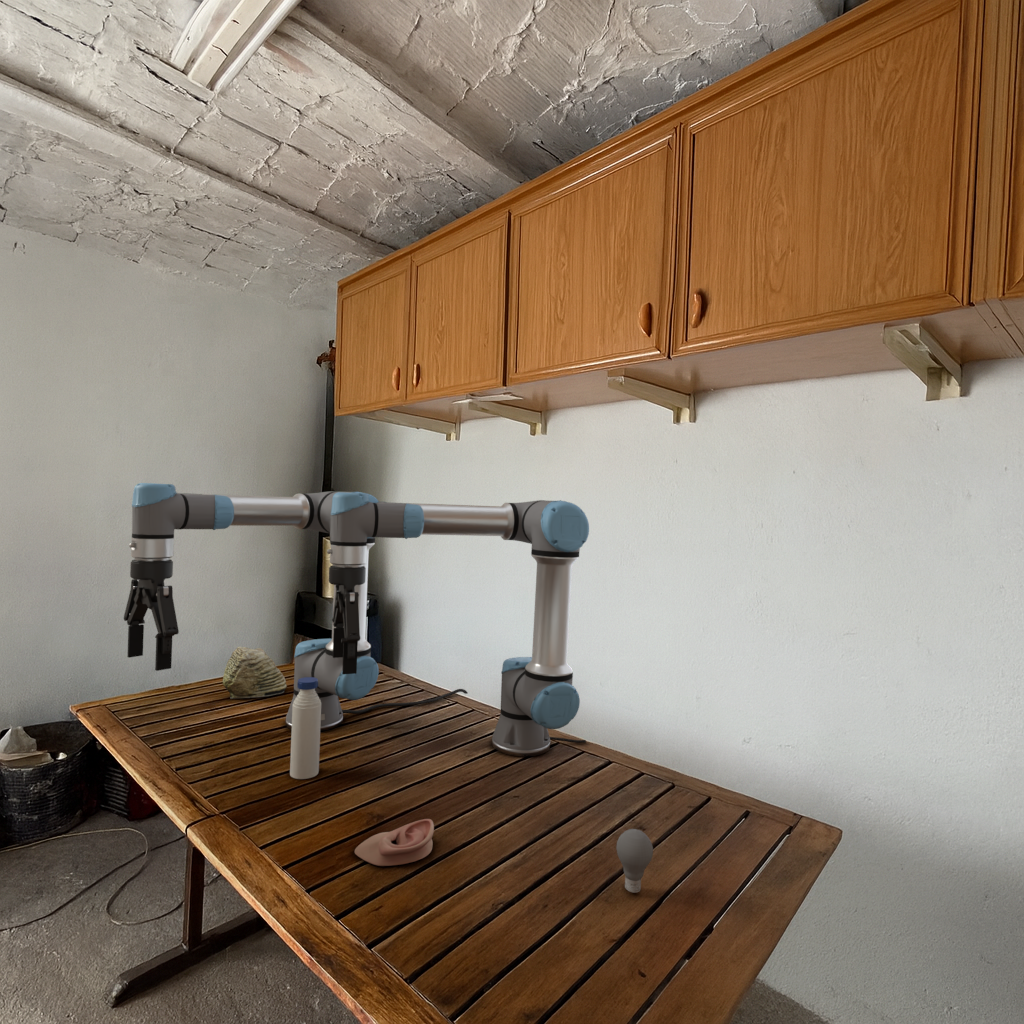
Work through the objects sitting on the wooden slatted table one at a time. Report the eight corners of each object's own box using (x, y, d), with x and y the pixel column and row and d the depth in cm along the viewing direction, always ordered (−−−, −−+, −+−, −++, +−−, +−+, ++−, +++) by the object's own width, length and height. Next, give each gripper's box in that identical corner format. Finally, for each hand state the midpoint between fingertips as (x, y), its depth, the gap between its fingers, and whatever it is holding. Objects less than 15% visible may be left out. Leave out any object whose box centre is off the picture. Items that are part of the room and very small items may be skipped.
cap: (312, 682, 147) (312, 676, 147) (321, 687, 144) (321, 680, 144) (294, 686, 144) (294, 679, 144) (302, 691, 141) (302, 683, 141)
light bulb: (610, 879, 108) (613, 822, 108) (644, 879, 109) (647, 822, 109) (619, 902, 102) (622, 840, 102) (655, 901, 103) (658, 840, 103)
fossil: (218, 695, 195) (220, 647, 195) (278, 685, 208) (279, 640, 207) (228, 703, 189) (230, 653, 188) (289, 692, 201) (290, 645, 201)
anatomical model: (347, 838, 110) (374, 807, 122) (346, 860, 111) (373, 828, 122) (419, 850, 108) (440, 817, 119) (418, 873, 108) (439, 838, 119)
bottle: (311, 765, 149) (314, 676, 149) (323, 774, 144) (327, 682, 144) (285, 772, 145) (288, 680, 144) (297, 781, 140) (300, 687, 140)
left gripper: (108, 554, 134) (104, 654, 134) (159, 565, 118) (155, 678, 119) (146, 552, 140) (143, 648, 140) (199, 563, 124) (195, 671, 124)
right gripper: (321, 559, 144) (318, 652, 144) (338, 572, 121) (334, 682, 121) (355, 559, 147) (351, 650, 147) (377, 572, 124) (373, 679, 124)
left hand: (148, 662), depth 129 cm, fingers open, 13 cm apart
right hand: (344, 665), depth 134 cm, fingers open, 13 cm apart
